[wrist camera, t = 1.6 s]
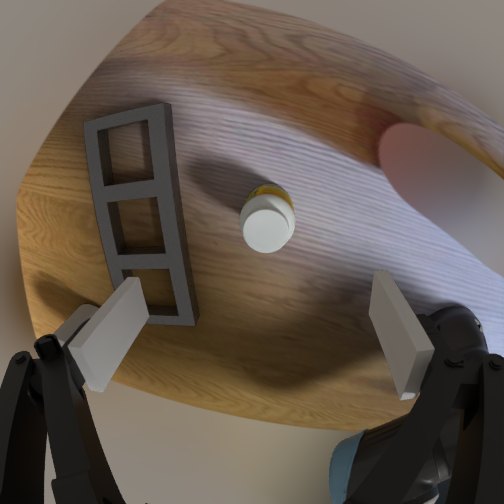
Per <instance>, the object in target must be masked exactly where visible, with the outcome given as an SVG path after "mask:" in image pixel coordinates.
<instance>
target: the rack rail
mask: <svg viewBox="0 0 504 504" xmlns="http://www.w3.org/2000/svg"><path fill="white" fill-rule="evenodd" d="M145 121H148V127H149V137H150V147H151V155H152V164H153V172H154V177H151V178H143V179H136V180H129V181H122V182H116V183H114V180H113V173H112V166H111V158H110V150H109V141H108V132H107V130H109V129H113V128H117V127H122V126H126V125H131V124H135V123H140V122H145ZM83 127H84V137H85V146H86V155H87V162H88V169H89V176H90V183H91V189H92V194H93V200H94V206H95V211H96V216H97V221H98V226H99V230H100V235H101V239H102V244H103V248H104V252H105V256H106V260H107V264H108V268H109V272H110V275H111V279H112V283H113V286H114V290H115V291H116V289H117V288H118V287H119V286H120V285H121V284H122V283H123V282H124V281H125V280H126V279H127V277H133V275H132V271H131V269H169V271H170V276H171V281H172V286H173V290H174V295H175V300H176V304H177V306H151V305H146V306H147V310H148V313H149V318H148V320H147V321H146V323H145V324H161V325H184V326H195V325H196V323H197V321H198V318H199V316H200V315H199V309H198V304H197V299H196V293H195V287H194V282H193V276H192V270H191V264H190V258H189V251H188V245H187V238H186V232H185V225H184V218H183V210H182V203H181V195H180V187H179V179H178V171H177V162H176V153H175V143H174V133H173V122H172V110H171V104H166V103H160V104H155V105H150V106H146V107H141V108H136V109H132V110H128V111H124V112H120V113H116V114H112V115H108V116H104V117H101V118H97V119H93V120H90V121H87V122H83ZM149 197H157V201H158V208H159V214H160V220H161V227H162V232H163V238H164V244H165V246H162V247H138V248H126V245H125V241H124V236H123V231H122V226H121V221H120V216H119V210H118V204H117V201H122V200H131V199H140V198H149Z"/></svg>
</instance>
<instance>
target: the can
mask: <svg viewBox="0 0 504 504" xmlns="http://www.w3.org/2000/svg"><path fill="white" fill-rule="evenodd" d="M98 310H99V308H98V307H96V306H93V305H90V304H83V305H81V306H79V307H78V308H77V309H76V310H75V311H74V312H73V314H72V315H71V316H70V317H69V318H68V319H67V320H66V321H65V322H64V323H63V324H62V325H61V326H60V327H59V328H58V329H57V330H56V332H55V333H54V335H56V336H57V339H58V341H59V343H60V345H61V347H62V346H63V345H64V343H65V342H66V341H67V340H68V339H69V338H70V336H71V335H73V333H74V332H75V331H76V330H77V328H78V327H79V326H80V325H81V324H82V323H83V322H84V321H86V320H87V319H89V318H92V316H93V315H94V314H95V313H96V312H97V311H98Z"/></svg>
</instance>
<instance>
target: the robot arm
mask: <svg viewBox="0 0 504 504" xmlns="http://www.w3.org/2000/svg"><path fill="white" fill-rule="evenodd" d="M369 316H370V318H371V321H372V324H373V326H374V329H375V331H376V334H377V336H378V339H379V342H380V344H381V347H382V349H383V352H384V355H385V358H386V360H387V363H388V366H389V369H390V371H391V374H392V377H393V380H394V383H395V386H396V389H397V392H398V395H399V398H400V400H405V399H411V398H416V397H417V395H418V393H419V392H420V395H419V397H418V399H417V400H416V402H415V404H414V406H413V408H412V409H411V411H410V413H408V414H406V415H403V416H401V417H399V418H397V419H394V420H392V421H390V422H388V423H385V424H383V425H380V426H378V427H375V428H372V429H370V430H369V429H365V430H363V431H362V432H361V433H359V434H357V435H354V436H352V437H350V438H347V439H344V440H342V441H341V442H340V443H339V444H338V445H337V446H336V447H335V449H334V451H333V454H332V457H331V461H330V467H329V488H330V495H331V500H332V503H333V504H434V503H435V501H436V500H437V498H438V496H439V493H438V489H437V483H439V482H442V481H443V480H446V479H448V478H450V477H451V481H450V485H449V490H448V494H447V498H446V502H445V504H504V357H502V356H500V355H498V354H489V352H488V348H487V344H486V340H485V336H484V334H483V328H482V325H481V323H480V321H479V320H478V319H477V317H476V316H475V315H474V314H473V313H472V312H471V311H470V310H469V309H467V308H464V307H450V308H446V309H443V310H440V311H438V312H436V313H434V314H432V315H430V316H429V317H428V316H426V315H425V314H419V315H415V314H414V312H413V310H412V309H411V307H410V306H409V304H408V302H407V301H406V299H405V297H404V296H403V294H402V293H401V291H400V290H399V288H398V286H397V285H396V283H395V282H394V280H393V279H392V277H391V276H390V274H389V273H388V271H387V270H381V271H374V275H373V284H372V292H371V300H370V308H369ZM148 318H149V313H148V310H147V306H146V302H145V299H144V295H143V291H142V287H141V283H140V279H139V277H127V279H126V280H125V281H124V282H123V283H122V284H121V285H120V286H119V287H118V288H117V289H116V291H115V292H114V293H113V294H112V295H111V296H110V297H109V298H108V299H107V301H106V302H105V303H104V304H103V305H102V306H101V307H100V308H99V310H98V311H97V312H96V313H95V314H94V315H93V316H92V318H89V319H87V320H86V321H84V322H83V323H82V324H81V325H80V326H79V327H78V328H77V330H76V331H75V332H74V333H73V335H71V336H70V338H69V339H68V340H67V341H66V342H65V343H64V345H63V346H62V347H61V345H60V343H59V341H58V339H57V336H56V335H54V334H47V335H44V336H42V337H40V338H39V339H37V341H36V342H35V343H34V348H35V349H36V352H37V354H38V356H39V357H40V359H32V357H31V355H30V353H29V352H27V351H21V352H18V353H16V354H15V355H14V356H13V357H12V358H11V360H10V362H9V365H8V368H7V370H6V373H5V376H4V379H3V382H2V385H1V388H0V504H44V470H45V453H46V441H47V431H48V437H49V443H50V449H51V454H52V458H53V463H54V468H55V472H56V479H53V480H52V482H51V485H52V490H53V494H54V498H55V501H56V504H126V503H125V501H124V499H123V498H122V495H121V493H120V491H119V489H118V487H117V484H116V482H115V480H114V477H113V475H112V472H111V470H110V467H109V465H108V462H107V460H106V457H105V454H104V452H103V449H102V446H101V444H100V440H99V437H98V435H97V431H96V428H95V426H94V422H93V419H92V415H91V412H90V409H89V405H88V402H87V398H86V394H85V391H84V389H83V387H82V386H83V384H84V383H85V381H86V383H87V385H88V387H89V389H90V390H93V391H97V392H101V393H103V391H104V390H105V388H106V386H107V385H108V383H109V381H110V380H111V378H112V376H113V375H114V373H115V371H116V370H117V368H118V366H119V365H120V363H121V361H122V360H123V358H124V356H125V355H126V353H127V352H128V350H129V348H130V347H131V345H132V343H133V342H134V340H135V339H136V337H137V335H138V334H139V332H140V331H141V329H142V328H143V326H144V324H145V323H146V321H147V320H148ZM146 504H147V503H146Z"/></svg>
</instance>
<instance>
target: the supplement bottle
mask: <svg viewBox="0 0 504 504" xmlns="http://www.w3.org/2000/svg"><path fill="white" fill-rule="evenodd" d="M239 225H240V230H241V232H242V234H243V236H244V239H245V241H246V243H247V244H248V245H249V246H250V247H251V248H252V249H254V250H256V251H258V252H262V253H271V252H274V251H277V250H279V249H280V248H281V247H282V246H283V245H284V244H285V243H286V242H287V241H288V240H289V239H290V237H291V236H292V234H293V232H294V228H295V215H294V210H293V204H292V200H291V198H290V196H289V194H288V193H287V192H286V191H285V190H284V189H283V188H282V187H280V186H277V185H274V184H265V185H262V186H259V187H257V188H256V189H254V190H253V191H252V192H251V193H250V195H249V197H248V199H247V201H246V202H245V204H244V206H243V208H242V210H241V213H240V218H239Z"/></svg>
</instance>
